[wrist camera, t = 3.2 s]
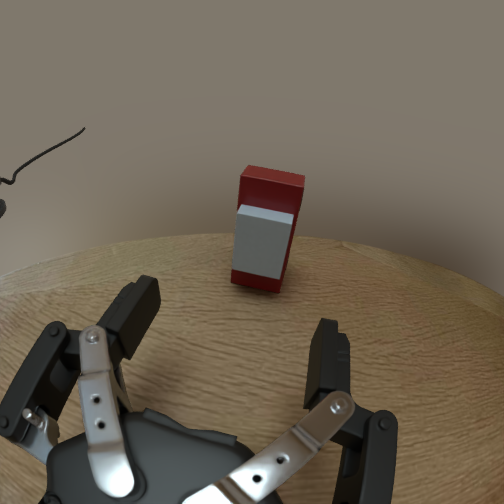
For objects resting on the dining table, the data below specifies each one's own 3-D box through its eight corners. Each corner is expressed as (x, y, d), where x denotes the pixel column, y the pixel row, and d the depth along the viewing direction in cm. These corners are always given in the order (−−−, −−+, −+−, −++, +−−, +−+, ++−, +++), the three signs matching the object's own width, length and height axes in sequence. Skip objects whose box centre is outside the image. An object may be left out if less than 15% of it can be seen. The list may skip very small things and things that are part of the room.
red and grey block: (224, 293, 23) (233, 181, 17) (238, 259, 27) (249, 160, 21) (278, 305, 23) (304, 195, 17) (284, 269, 27) (306, 171, 21)
